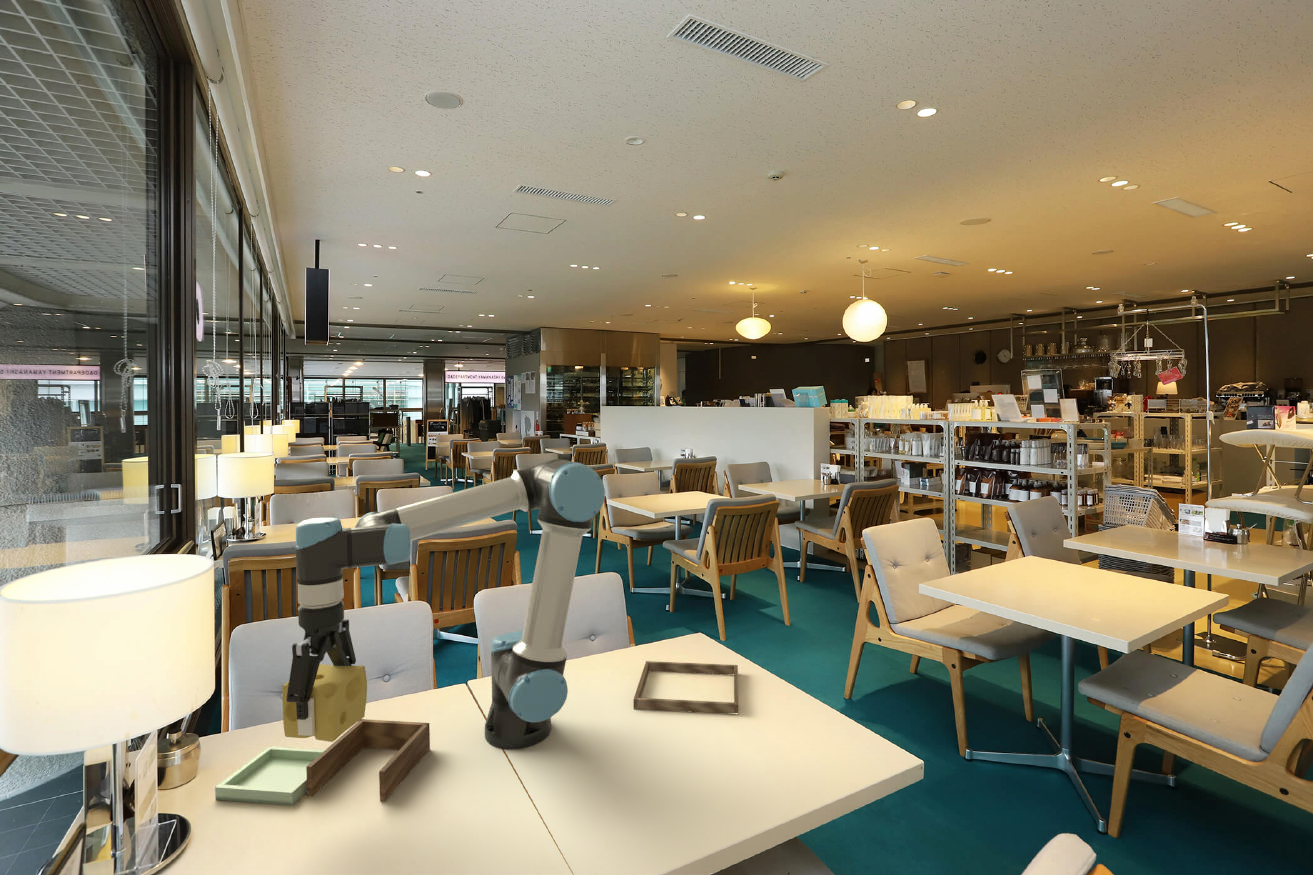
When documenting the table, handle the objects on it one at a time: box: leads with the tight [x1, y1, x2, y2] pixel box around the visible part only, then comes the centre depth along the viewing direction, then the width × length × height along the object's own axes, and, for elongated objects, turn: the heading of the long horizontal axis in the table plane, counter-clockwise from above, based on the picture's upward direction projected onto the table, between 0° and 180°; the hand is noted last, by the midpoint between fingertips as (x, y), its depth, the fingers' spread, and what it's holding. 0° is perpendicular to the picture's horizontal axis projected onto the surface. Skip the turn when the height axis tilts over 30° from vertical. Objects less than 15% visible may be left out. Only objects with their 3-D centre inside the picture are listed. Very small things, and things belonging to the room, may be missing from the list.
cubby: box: [306, 718, 431, 803], centre depth 136 cm, size 16×19×6 cm
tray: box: [214, 746, 326, 806], centre depth 133 cm, size 16×15×2 cm
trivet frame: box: [632, 660, 740, 714], centre depth 174 cm, size 26×24×2 cm
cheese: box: [281, 663, 368, 743], centre depth 122 cm, size 10×11×10 cm
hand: (325, 719), depth 122 cm, fingers closed on cheese, 10 cm apart
